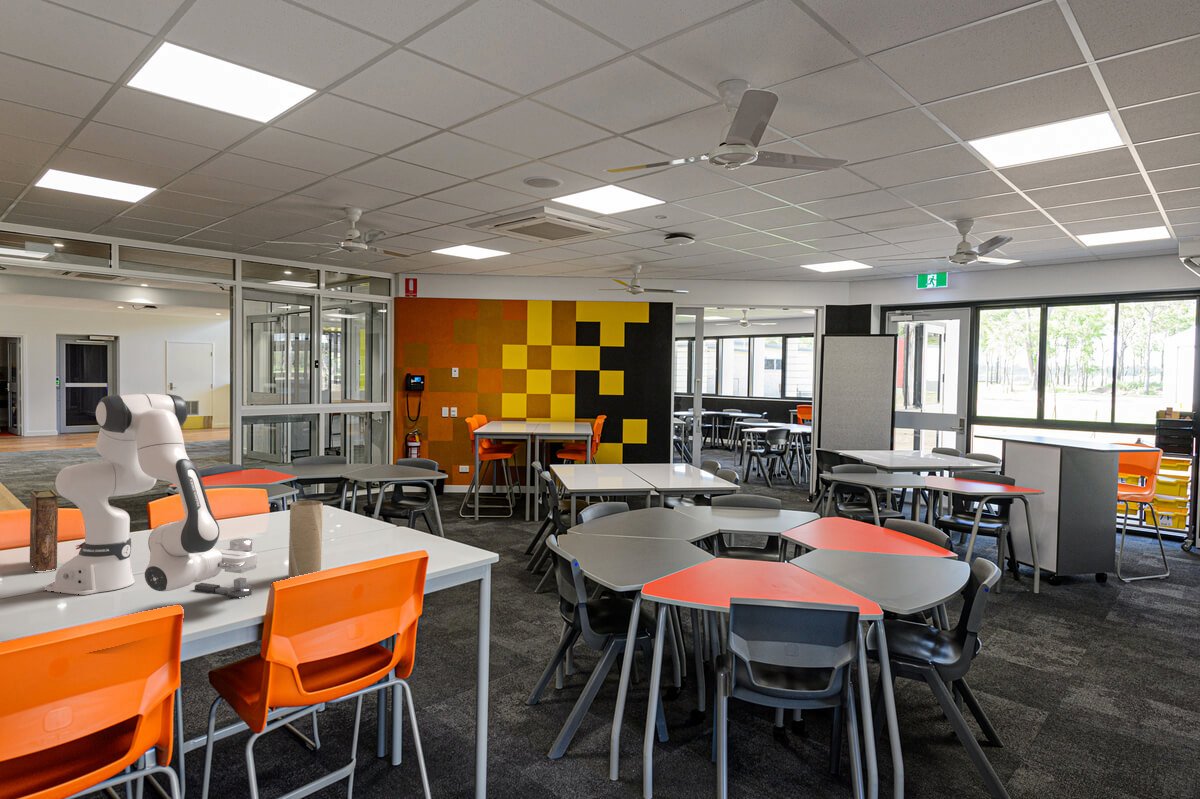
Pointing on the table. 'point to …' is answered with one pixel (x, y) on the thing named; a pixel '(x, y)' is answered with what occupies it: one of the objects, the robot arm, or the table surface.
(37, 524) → the book
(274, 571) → the table surface
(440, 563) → the table surface
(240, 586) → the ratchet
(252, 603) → the table surface
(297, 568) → the tube
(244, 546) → the grey block with cylinder
